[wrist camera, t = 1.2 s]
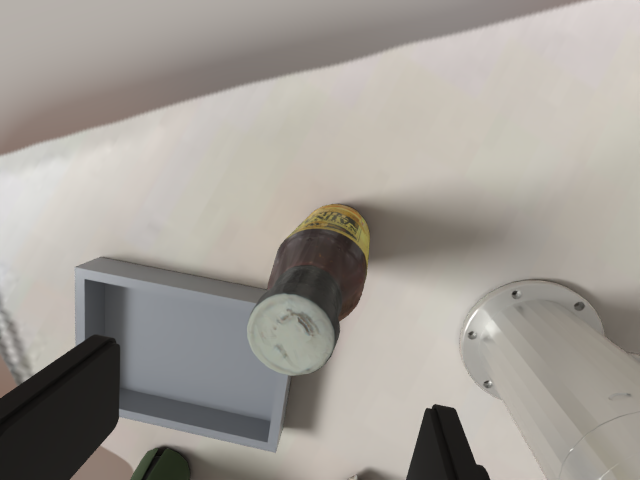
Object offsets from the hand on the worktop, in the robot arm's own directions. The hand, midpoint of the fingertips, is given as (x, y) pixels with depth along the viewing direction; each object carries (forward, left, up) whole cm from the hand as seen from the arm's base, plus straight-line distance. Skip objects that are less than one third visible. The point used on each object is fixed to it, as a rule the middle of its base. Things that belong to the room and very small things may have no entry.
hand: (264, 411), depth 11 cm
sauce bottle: (0, 0, -25) cm, 25 cm away
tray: (+13, +15, -25) cm, 32 cm away
